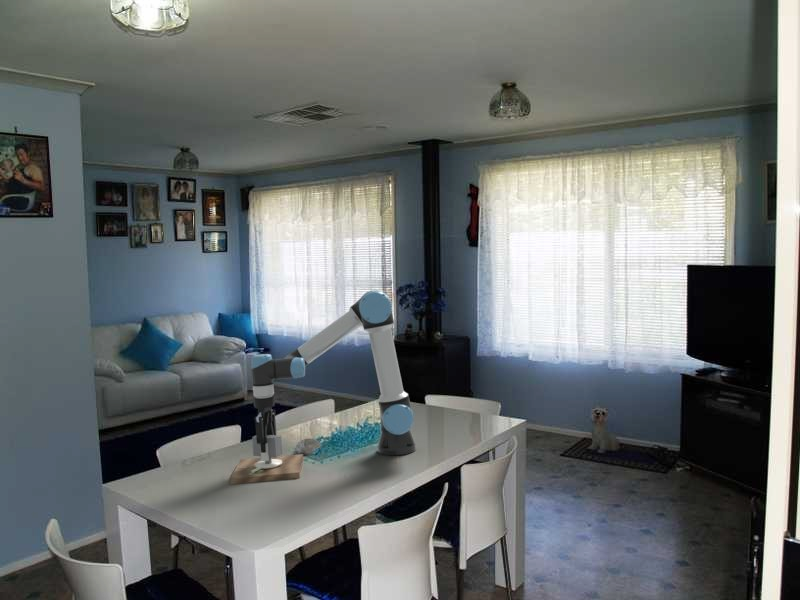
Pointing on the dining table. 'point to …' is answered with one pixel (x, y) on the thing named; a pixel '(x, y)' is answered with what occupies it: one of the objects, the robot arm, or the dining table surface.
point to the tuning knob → (273, 451)
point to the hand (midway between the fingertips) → (268, 458)
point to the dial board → (268, 470)
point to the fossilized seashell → (307, 446)
